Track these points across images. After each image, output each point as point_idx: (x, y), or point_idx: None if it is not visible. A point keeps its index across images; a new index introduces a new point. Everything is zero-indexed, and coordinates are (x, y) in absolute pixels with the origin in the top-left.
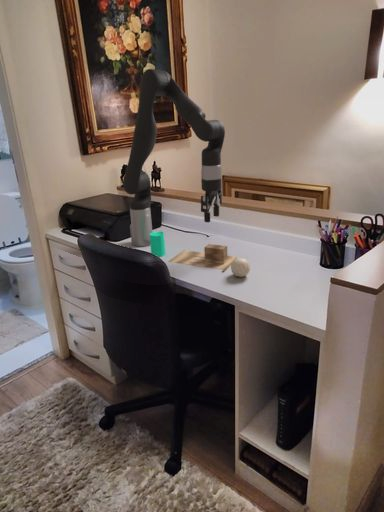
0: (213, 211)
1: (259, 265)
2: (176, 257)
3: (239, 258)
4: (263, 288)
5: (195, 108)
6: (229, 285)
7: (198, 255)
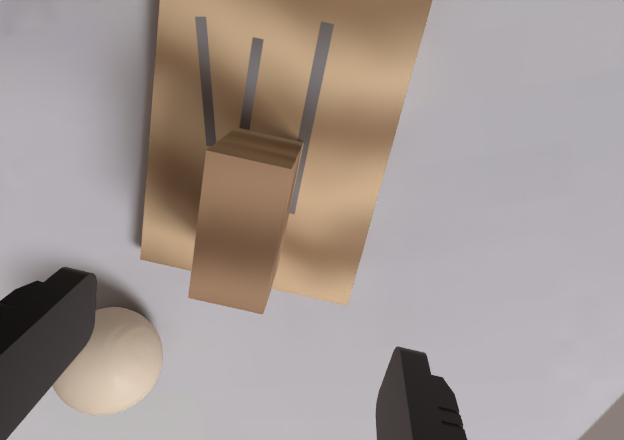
0: (406, 394)
1: (278, 401)
2: None
3: (88, 389)
4: (37, 417)
5: None
6: None
7: (346, 52)
